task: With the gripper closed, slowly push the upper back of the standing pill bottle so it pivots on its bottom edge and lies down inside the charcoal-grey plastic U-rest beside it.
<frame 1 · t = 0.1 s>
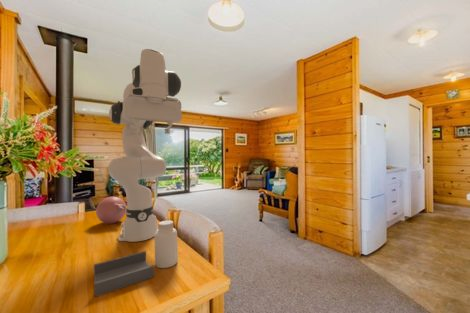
hand: (154, 133, 76), 48 cm above the table, fingers open, 8 cm apart
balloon: (113, 223, 121), on the table
u rest: (123, 276, 68), on the table
pill bottle: (166, 263, 76), on the table
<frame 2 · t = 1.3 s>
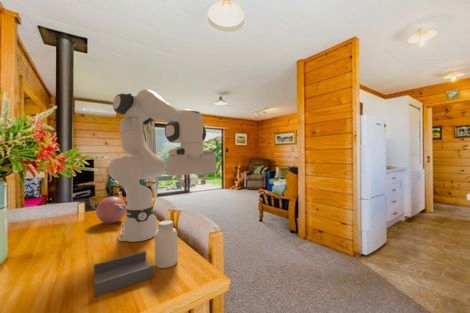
hand: (192, 185, 82), 28 cm above the table, fingers open, 8 cm apart
nothing on the table moved.
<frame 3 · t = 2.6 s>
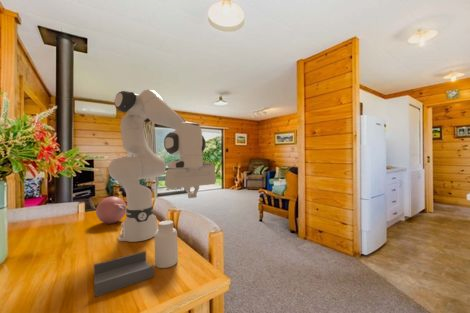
hand: (192, 197, 82), 23 cm above the table, fingers closed
nothing on the table moved.
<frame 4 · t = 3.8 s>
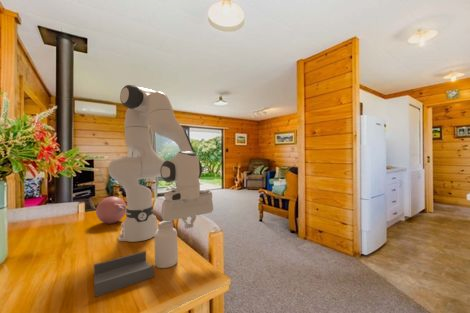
hand: (189, 227, 81), 11 cm above the table, fingers closed
nothing on the table moved.
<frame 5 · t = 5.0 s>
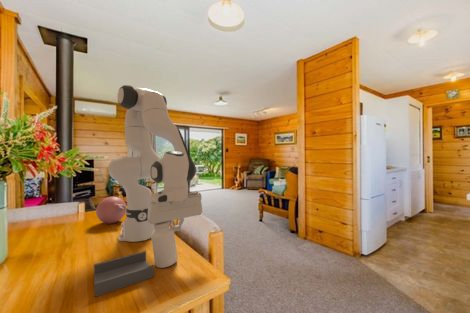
hand: (176, 230, 79), 11 cm above the table, fingers closed
pill bottle: (166, 262, 76), on the table, touching gripper
everything else where it was.
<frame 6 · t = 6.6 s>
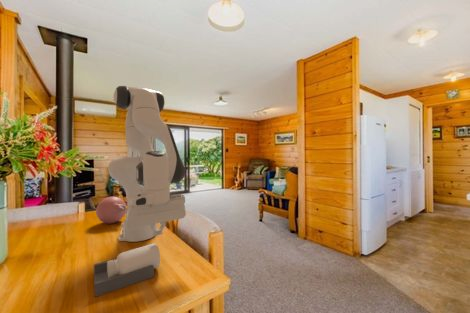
hand: (157, 234, 75), 11 cm above the table, fingers closed
pill bottle: (157, 254, 74), point 5 cm above the table, touching u rest
everything else where it was.
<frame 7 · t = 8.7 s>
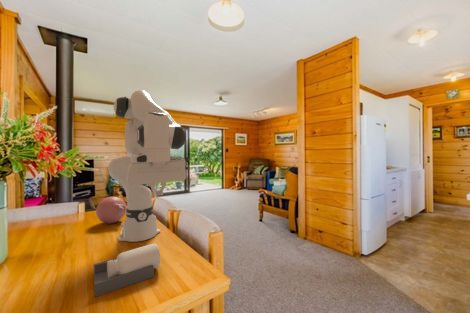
hand: (158, 195, 75), 25 cm above the table, fingers closed
nothing on the table moved.
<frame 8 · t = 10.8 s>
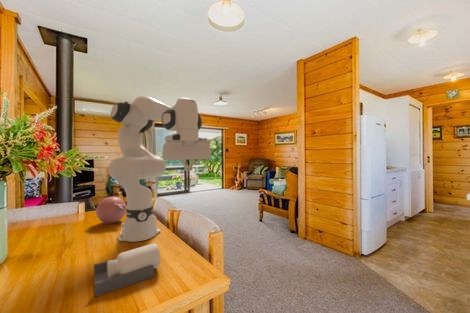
hand: (188, 170, 86), 33 cm above the table, fingers closed
nothing on the table moved.
at the end: pill bottle tilted 91°; pill bottle touching u rest; pill bottle inside the target area on the u rest (6.3 cm from its centre), point 4.6 cm above the u rest's base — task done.
